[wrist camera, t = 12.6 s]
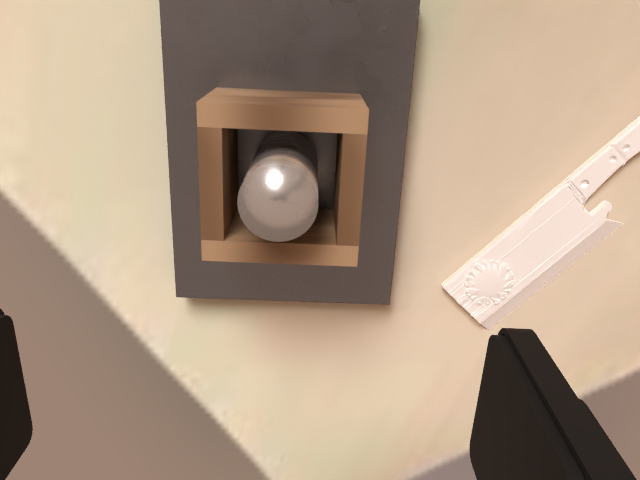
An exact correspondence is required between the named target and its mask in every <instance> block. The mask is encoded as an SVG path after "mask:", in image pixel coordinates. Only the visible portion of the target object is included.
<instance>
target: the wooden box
mask: <svg viewBox="0 0 640 480" xmlns="http://www.w3.org/2000/svg"><path fill="white" fill-rule="evenodd" d="M196 108H197V137H198V165H199V194H200V223H201V251H202V261H222V262H248V263H274V264H300V265H326V266H352V267H357V263H358V250H359V237H360V224H361V211H362V198H363V185H364V172H365V159H366V146H367V133H368V120H369V108H368V107H367V105H366V103H365V102H364V100H363V98H362V96H361V95H360V94H349V93H327V92H305V91H284V90H262V89H240V88H218V87H216V88H215V89H214V90H212V91H211V92H209V93H208V94H207V95H205V96H204V97H203V98H201V99H200V100H198V101H197V102H196ZM238 129H257V130H280V131H303V132H325V133H337V151H336V168H335V186H334V203H333V210H332V209H318V212H317V216H316V218H315V220H314V222H313V224H312V225H311V227H310V228H309V229H308V230H307V231H306V232H305V233H304V234H302V235H301V236H299V237H297V238H295V239H293V240H289V241H283V242H274V241H269V240H265V239H262V238H260V237H258V236H257V235H255V234H254V233H252V232H251V231H250V230H249V229H248V228H247V227H246V226H245V224H244V223H243V221H242V219H241V217H240V215H239V212H238V206H237V198H238Z"/></svg>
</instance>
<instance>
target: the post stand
mask: <svg viewBox="0 0 640 480" xmlns="http://www.w3.org/2000/svg"><path fill="white" fill-rule="evenodd" d="M159 2H160V20H161V37H162V55H163V72H164V90H165V108H166V125H167V143H168V160H169V178H170V195H171V213H172V231H173V248H174V266H175V283H176V297H189V298H217V299H245V300H274V301H302V302H330V303H359V304H387V305H389V304H390V295H391V285H392V275H393V265H394V255H395V245H396V235H397V225H398V215H399V205H400V195H401V185H402V175H403V165H404V155H405V146H406V136H407V126H408V116H409V106H410V96H411V86H412V76H413V66H414V56H415V46H416V36H417V26H418V16H419V6H420V0H159ZM216 87H218V88H240V89H262V90H284V91H305V92H327V93H349V94H360V95H361V96H362V98H363V100H364V102H365V103H366V105H367V107H368V108H369V120H368V133H367V146H366V159H365V172H364V185H363V198H362V211H361V224H360V237H359V250H358V263H357V267H352V266H326V265H300V264H274V263H248V262H222V261H202V251H201V223H200V194H199V165H198V137H197V108H196V102H197V101H198V100H200V99H201V98H203V97H204V96H205V95H207V94H208V93H209V92H211V91H212V90H214V89H215V88H216ZM336 151H337V133H325V132H303V131H280V130H257V129H238V198H237V206H238V212H239V215H240V217H241V219H242V221H243V223H244V224H245V226H246V227H247V228H248V229H249V230H250V231H251V232H252V233H254V234H255V235H257V236H258V237H260V238H262V239H265V240H269V241H274V242H283V241H289V240H293V239H295V238H297V237H299V236H301V235H302V234H304V233H305V232H306V231H307V230H308V229H309V228H310V227H311V225H312V224H313V222H314V220H315V218H316V216H317V212H318V209H332V210H333V203H334V186H335V168H336Z"/></svg>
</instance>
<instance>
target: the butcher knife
mask: <svg viewBox="0 0 640 480" xmlns="http://www.w3.org/2000/svg"><path fill="white" fill-rule="evenodd" d="M639 152H640V116H639V117H638V118H637V119H636V120H634V121H633V122H632V123H631V124H630V125H628V126H627V127H626V128H625V129H624V130H623V131H621V132H620V133H619V134H618V135H617V136H615V137H614V138H613V139H612V140H611V141H610V142H608V143H607V144H606V145H605V146H604V147H602V148H601V149H600V150H599V151H598V152H596V153H595V154H594V155H593V156H592V157H591V158H589V159H588V160H587V161H586V162H585V163H583V164H582V165H581V166H580V167H579V168H577V169H576V170H575V171H574V172H573V173H571V174H570V175H569V176H568V177H567V178H566V179H565V180H564V181H563V182H562V183H560V184H559V185H557V186H556V187H555V188H554V189H553V190H552V191H550V192H549V193H548V194H547V195H546V196H544V197H543V198H542V199H541V200H540V201H539V202H537V203H536V204H535V205H534V206H533V207H531V208H530V210H528V211H527V212H525V213H524V214H523V215H522V216H521V217H520V218H518V219H517V220H516V221H515V222H514V223H512V224H511V225H510V226H509V227H508V228H507V229H505V230H504V231H503V232H502V233H501V234H499V235H498V236H497V237H496V238H495V239H493V240H492V241H491V242H490V243H489V244H487V245H486V246H485V247H484V248H483V249H482V250H480V251H479V252H478V253H477V254H476V255H475V256H473V257H472V258H471V259H470V260H469V261H467V262H466V263H465V264H464V265H463V266H462V267H460V268H459V269H458V270H457V271H456V272H454V273H453V274H452V275H451V276H450V277H449V278H447V279H446V280H445V281H444V282H443V283H441V285H442V287H443V288H444V289H445V290H446V291H447V292H448V293H449V294H450V295H451V296H452V297H453V298H454V299H455V300H456V301H457V302H458V304H459V305H461V306H462V307H463V308H464V309H465V310H466V311H468V312H469V313H470V314H471V316H473V318H475V319H476V320H477V321H478V322H479V323H480V324H481V325H483V326H484V327H485V328H487V329H488V330H489V329H491V328H492V327H493V326H495V325H496V324H497V323H498V322H500V321H501V320H502V319H503V318H505V317H506V316H507V315H509V314H510V313H511V312H512V311H514V310H515V309H516V308H517V307H519V306H520V305H521V304H523V303H524V302H525V301H526V300H528V299H529V298H530V297H531V296H533V295H534V294H535V293H537V292H538V291H539V290H540V289H542V288H543V287H544V286H545V285H547V284H548V282H551V281H552V280H553V279H554V278H556V277H557V276H558V275H559V274H561V273H562V272H563V271H565V270H566V269H567V268H568V267H570V266H571V265H572V264H573V263H575V262H576V261H577V260H578V259H580V258H581V257H582V256H584V255H585V254H586V253H587V252H589V251H590V250H591V249H592V248H594V247H595V246H596V245H598V244H599V243H600V242H601V241H603V240H604V239H605V238H606V237H608V236H609V235H610V234H612V233H613V232H614V231H615V230H617V229H618V228H619V227H621V226H622V225H623V224H624V223H621V222H618V221H614V220H610V219H607V218H606V217H607V215H608V214H609V213H610V211H611V207H612V204H611V203H609V202H607V201H603V202H601V203H600V204H599V205H598V206H596V207H595V208H594V209H593V210H592V211H591V212H588V211H587V210H586V209H585V208H584V207H583V206H584V204H585V202H586V201H587V199H588V198H589V197H590V196H591V195H592V194H593V193H594V192H595V191H596V190H597V189H598V188H599V187H600V186H601V185H602V184H603V183H604V182H605V181H606V180H607V179H608V178H609V177H610V176H611V175H612V174H613V173H614V172H615V171H616V170H617V169H618V168H620V167H621V166H622V165H623V164H624V165H625V163H626V161H628V160H629V159H630V158H632V157H633V156H634V155H636V154H637V153H639ZM624 162H625V163H624ZM624 165H623V166H624ZM608 211H609V213H608ZM607 213H608V214H607Z"/></svg>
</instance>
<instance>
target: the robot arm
mask: <svg viewBox="0 0 640 480" xmlns="http://www.w3.org/2000/svg"><path fill="white" fill-rule="evenodd" d="M31 436H32V421H31V416H30V410H29V405H28V399H27V394H26V389H25V383H24V379H23V373H22V367H21V362H20V357H19V352H18V346H17V341H16V336H15V330H14V325H13V321H12V319H11V317H9V316H7V315H4V312H3V311H2V310H1V309H0V480H5V479H6V477H7V476H8V475H9V473H10V472H11V470H12V469H13V467H14V466H15V464H16V463H17V461H18V460H19V458H20V457H21V455H22V454H23V452H24V451H25V449H26V448H27V446H28V444H29V443H30V440H31ZM470 458H471V462H472V466H473V469H474V472H475V475H476V478H477V480H636V478H635V477H634V475H633V474H632V472H631V471H630V469H629V468H628V466H627V465H626V463H625V462H624V460H623V459H622V457H621V456H620V454H619V453H618V451H617V450H616V448H615V447H614V445H613V444H612V442H611V441H610V439H609V438H608V436H607V435H606V433H605V432H604V430H603V429H602V427H601V426H600V424H599V423H598V421H597V420H596V418H595V417H594V415H593V414H592V412H591V411H590V409H589V408H588V406H587V405H586V404H585V403H584V402H583V400H581V399H578V398H577V396H576V395H575V393H574V391H573V390H572V388H571V387H570V385H569V384H568V382H567V381H566V379H565V378H564V376H563V375H562V373H561V372H560V370H559V369H558V367H557V366H556V364H555V363H554V361H553V360H552V358H551V356H550V355H549V353H548V352H547V350H546V349H545V347H544V346H543V344H542V343H541V341H540V340H539V338H538V337H537V335H536V334H535V332H534V331H533V330H531V329H514V328H502V329H501V330H500V331H499V333H498V335H491V336H490V338H489V342H488V347H487V353H486V358H485V363H484V369H483V374H482V380H481V385H480V391H479V396H478V402H477V407H476V412H475V418H474V423H473V429H472V434H471V440H470Z"/></svg>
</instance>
